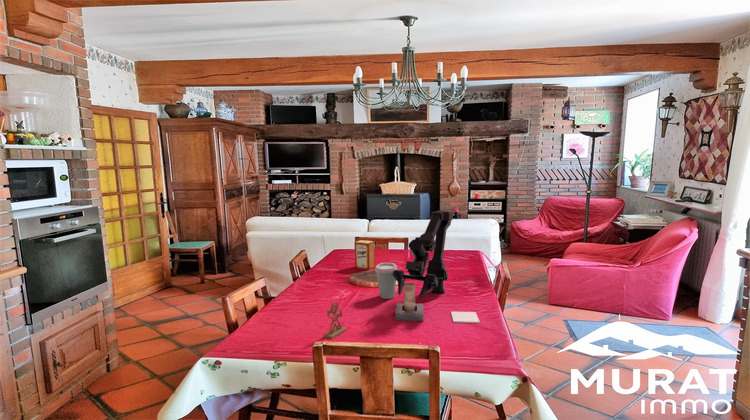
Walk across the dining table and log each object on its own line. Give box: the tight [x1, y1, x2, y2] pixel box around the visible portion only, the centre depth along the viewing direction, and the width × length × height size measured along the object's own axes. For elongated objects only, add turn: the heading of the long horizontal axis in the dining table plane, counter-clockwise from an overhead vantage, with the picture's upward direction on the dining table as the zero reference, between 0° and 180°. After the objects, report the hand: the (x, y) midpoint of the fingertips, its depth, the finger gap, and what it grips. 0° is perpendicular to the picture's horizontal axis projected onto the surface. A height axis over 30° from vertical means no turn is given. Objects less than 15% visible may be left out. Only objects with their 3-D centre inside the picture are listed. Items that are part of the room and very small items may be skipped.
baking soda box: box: [354, 239, 376, 271], centre depth 235 cm, size 10×6×16 cm
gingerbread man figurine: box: [323, 301, 347, 340], centre depth 147 cm, size 9×4×12 cm, turn 147°
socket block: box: [394, 302, 425, 322], centre depth 164 cm, size 11×11×3 cm
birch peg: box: [403, 282, 416, 311], centre depth 163 cm, size 4×4×13 cm
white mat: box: [450, 311, 480, 324], centre depth 161 cm, size 10×10×1 cm
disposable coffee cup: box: [374, 262, 398, 299], centre depth 186 cm, size 11×11×15 cm
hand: (409, 296), depth 162 cm, fingers open, 9 cm apart
